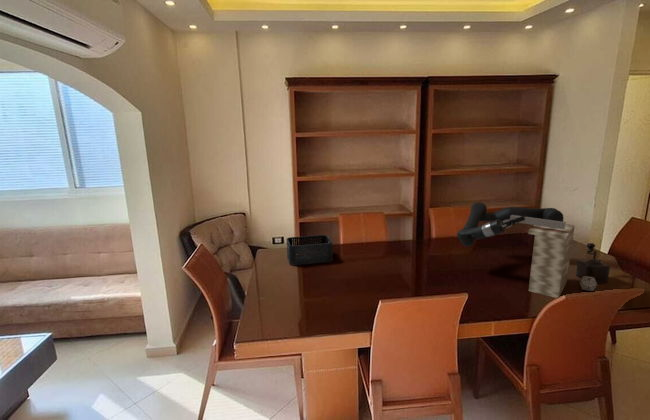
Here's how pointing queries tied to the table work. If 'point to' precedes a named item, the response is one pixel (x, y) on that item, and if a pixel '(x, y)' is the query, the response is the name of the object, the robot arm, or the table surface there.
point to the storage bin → (309, 250)
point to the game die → (588, 283)
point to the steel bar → (541, 222)
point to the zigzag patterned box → (550, 259)
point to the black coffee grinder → (593, 267)
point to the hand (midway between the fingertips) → (524, 217)
